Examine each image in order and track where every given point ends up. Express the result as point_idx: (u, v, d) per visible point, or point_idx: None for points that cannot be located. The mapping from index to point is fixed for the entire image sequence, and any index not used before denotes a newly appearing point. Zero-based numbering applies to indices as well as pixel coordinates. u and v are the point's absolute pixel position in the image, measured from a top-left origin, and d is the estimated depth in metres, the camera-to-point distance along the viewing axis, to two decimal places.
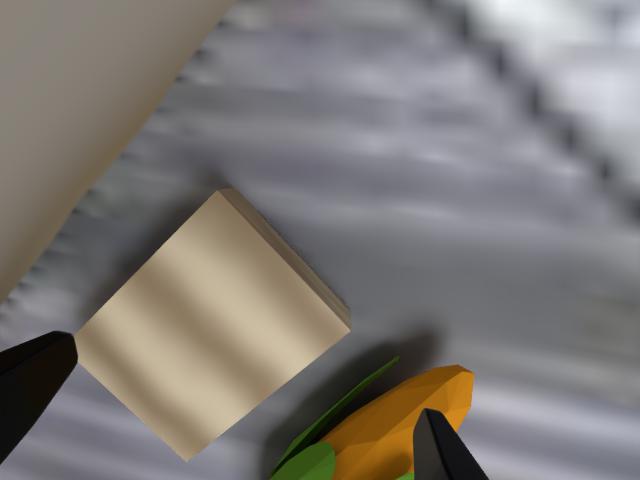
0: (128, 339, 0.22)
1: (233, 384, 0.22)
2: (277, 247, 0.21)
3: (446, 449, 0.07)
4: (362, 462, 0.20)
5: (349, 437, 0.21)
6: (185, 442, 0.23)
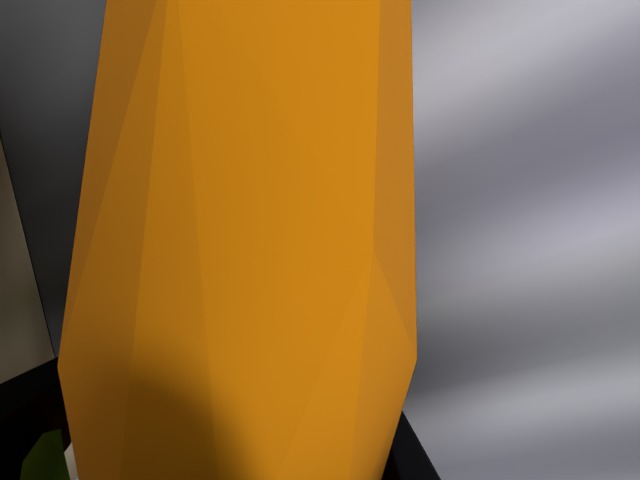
0: None
1: None
2: None
3: (395, 438, 0.07)
4: (80, 476, 0.04)
5: None
6: None
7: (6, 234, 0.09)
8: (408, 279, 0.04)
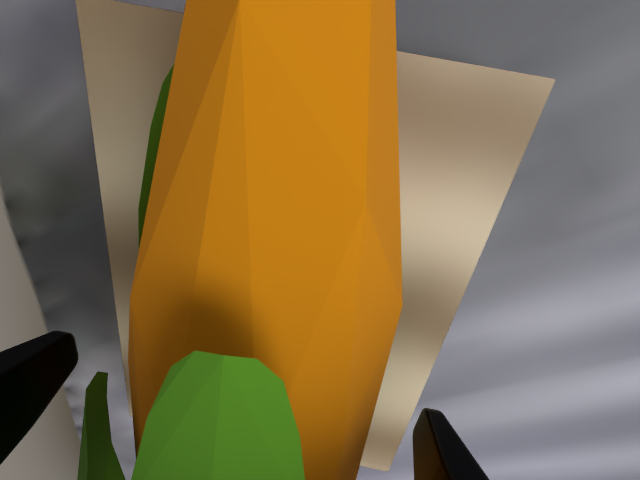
0: None
1: None
2: None
3: (446, 449, 0.07)
4: (141, 389, 0.06)
5: None
6: (367, 449, 0.14)
7: None
8: (394, 236, 0.06)
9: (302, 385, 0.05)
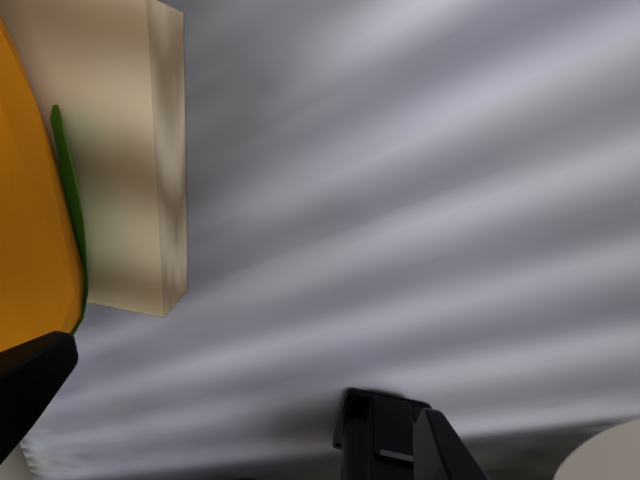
0: None
1: (115, 195, 0.17)
2: None
3: (446, 449, 0.07)
4: None
5: None
6: (143, 297, 0.19)
7: (180, 105, 0.17)
8: None
9: None
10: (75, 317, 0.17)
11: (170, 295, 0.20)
